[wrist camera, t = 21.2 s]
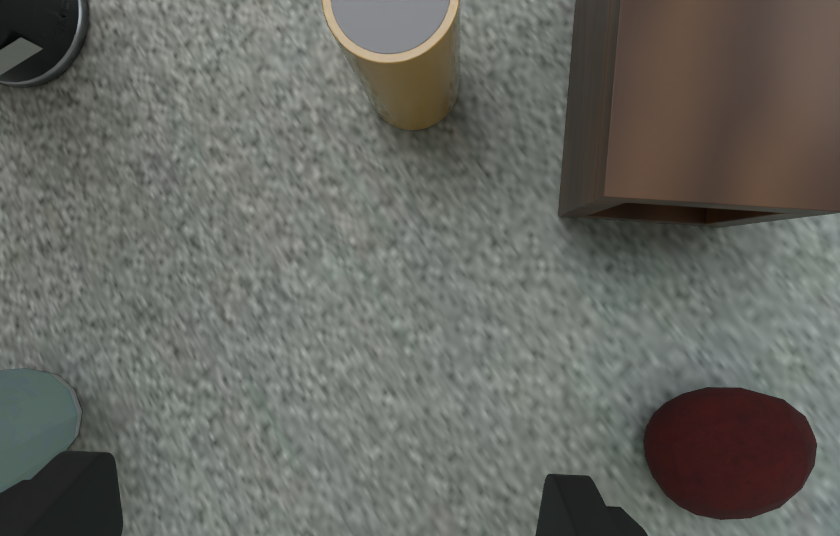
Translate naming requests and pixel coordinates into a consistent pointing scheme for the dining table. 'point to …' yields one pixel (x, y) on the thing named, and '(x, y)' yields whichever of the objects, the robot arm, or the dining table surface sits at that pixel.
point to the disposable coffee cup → (34, 422)
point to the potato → (729, 452)
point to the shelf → (703, 111)
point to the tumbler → (401, 55)
